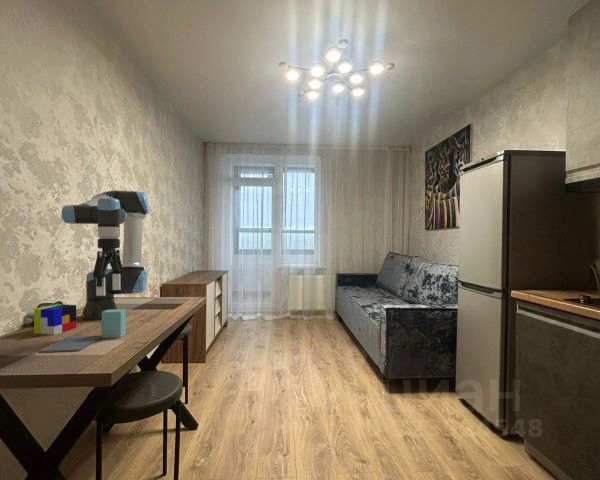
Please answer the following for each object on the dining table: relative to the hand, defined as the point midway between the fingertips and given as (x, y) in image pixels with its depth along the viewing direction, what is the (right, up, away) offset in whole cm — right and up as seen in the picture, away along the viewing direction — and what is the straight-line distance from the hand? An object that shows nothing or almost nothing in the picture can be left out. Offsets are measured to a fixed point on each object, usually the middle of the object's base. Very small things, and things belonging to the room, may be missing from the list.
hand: (109, 292), depth 124 cm
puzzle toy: (-28, -18, +9) cm, 35 cm away
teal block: (+1, -17, +2) cm, 17 cm away
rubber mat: (-8, -17, -8) cm, 21 cm away
